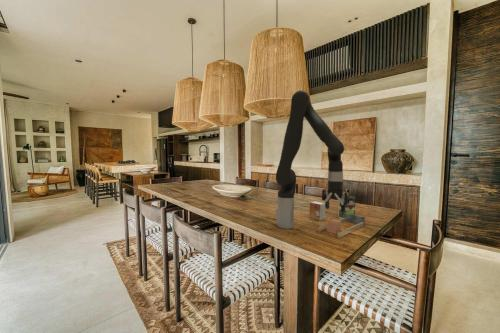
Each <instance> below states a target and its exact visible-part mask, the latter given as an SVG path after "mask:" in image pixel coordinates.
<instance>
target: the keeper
mask: <svg viewBox="0 0 500 333" xmlns="http://www.w3.org/2000/svg"><path fill="white" fill-rule="evenodd" d="M326 221H327V222H326V224H327V229H326V232H327V233H330V234H334V235H337V233H339V232H341V230H342V223H341V221H339V219H336V218H335V219H334V218H332V219H329V220H326Z"/></svg>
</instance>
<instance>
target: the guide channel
mask: <svg viewBox="0 0 500 333" xmlns="http://www.w3.org/2000/svg"><path fill="white" fill-rule="evenodd" d="M338 220H339V221H341V224H342V223H343V222H346V223H347V222H348V223H352V224H355V225H353V226H350V227H348V228H346V229H344V230H342V231H341V232H339V233H337V234H336V237H337V238H338V239H340V238H342V237H343V236H345V235H348V234H349V233H352V232H354V231H356V230H359V229H360V228H362V227H364V226H365V224H366V223H365V222H366V221H365V220H366V217H365V216H363V215H357V214H355V215H354V214H349V213H344V216H343V218H339V219H338ZM325 230H327V223H326V224H323V225H320V226H318V227H317V231H318V232H323V231H325Z"/></svg>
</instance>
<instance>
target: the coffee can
mask: <svg viewBox="0 0 500 333" xmlns="http://www.w3.org/2000/svg"><path fill="white" fill-rule="evenodd" d="M342 197H343V198H344V201H345V197H344V195H342ZM356 198H357V197H356V196H354V195H350V194H349V204H346V205H345V211H344V212H341V205H342V204H341V203H340V201H339V200H338V207H337V208H338V210H337V217H338V218H339V219H341V218H343V216H344V213H349V214H354V215H356ZM340 199H341V198H340Z"/></svg>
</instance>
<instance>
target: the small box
mask: <svg viewBox="0 0 500 333" xmlns="http://www.w3.org/2000/svg"><path fill="white" fill-rule="evenodd" d="M325 212H326V207H325V202H319V201H315V200H314V201H310V202H309V212H308V213H309V214H308V216H309V217H308V218H309V219H312V220H316V221H324V220H325V216H326V215H325V214H326V213H325Z"/></svg>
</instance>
